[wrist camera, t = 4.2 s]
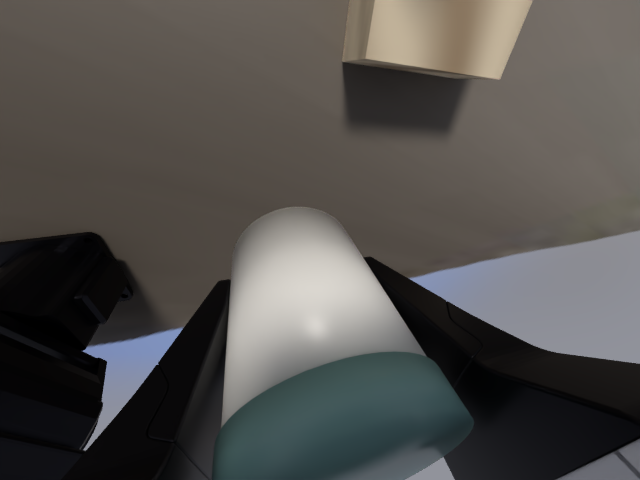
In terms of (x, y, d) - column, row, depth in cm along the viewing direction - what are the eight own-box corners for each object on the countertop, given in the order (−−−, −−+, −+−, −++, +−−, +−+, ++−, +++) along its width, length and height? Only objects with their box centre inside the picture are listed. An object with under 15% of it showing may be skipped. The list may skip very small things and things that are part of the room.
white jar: (242, 312, 11) (239, 546, 6) (215, 212, 8) (156, 495, 3) (347, 291, 12) (433, 472, 7) (357, 197, 9) (521, 378, 4)
